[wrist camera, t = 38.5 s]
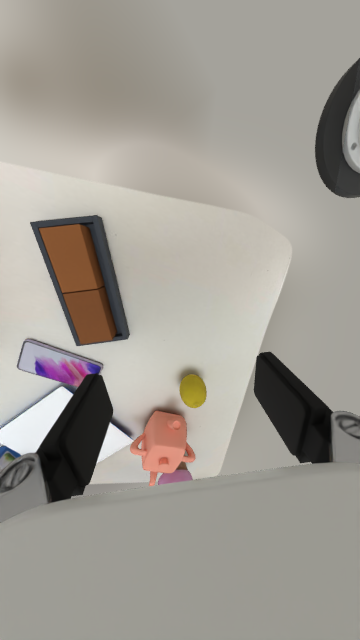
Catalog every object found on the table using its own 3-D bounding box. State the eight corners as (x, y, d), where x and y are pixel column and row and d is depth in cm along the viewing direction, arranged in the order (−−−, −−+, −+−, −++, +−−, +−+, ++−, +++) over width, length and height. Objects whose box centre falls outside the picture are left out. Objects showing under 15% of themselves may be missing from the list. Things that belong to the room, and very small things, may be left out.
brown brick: (88, 335, 33) (80, 344, 30) (73, 289, 30) (62, 294, 27) (117, 331, 33) (112, 340, 30) (105, 285, 30) (97, 289, 27)
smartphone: (23, 338, 32) (103, 366, 35) (26, 336, 33) (104, 363, 36) (15, 369, 34) (91, 392, 37) (18, 366, 34) (93, 389, 38)
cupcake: (157, 466, 50) (155, 515, 40) (160, 446, 47) (159, 493, 37) (187, 466, 51) (192, 513, 42) (191, 446, 48) (198, 492, 39)
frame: (81, 341, 34) (76, 346, 32) (39, 224, 26) (29, 222, 25) (129, 334, 34) (127, 339, 32) (101, 217, 27) (96, 215, 25)
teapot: (130, 410, 41) (120, 456, 32) (176, 395, 41) (180, 437, 31) (152, 445, 47) (149, 494, 37) (193, 432, 46) (201, 478, 37)
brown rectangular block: (73, 288, 30) (62, 293, 27) (53, 231, 27) (38, 228, 23) (105, 285, 30) (97, 288, 27) (89, 227, 27) (79, 223, 23)
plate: (135, 433, 44) (133, 442, 42) (72, 472, 47) (68, 481, 45) (66, 379, 37) (61, 386, 35) (-4, 429, 40) (-12, 438, 38)
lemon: (184, 364, 38) (189, 390, 31) (206, 371, 39) (215, 398, 32) (174, 382, 40) (176, 412, 32) (195, 389, 41) (202, 419, 33)
